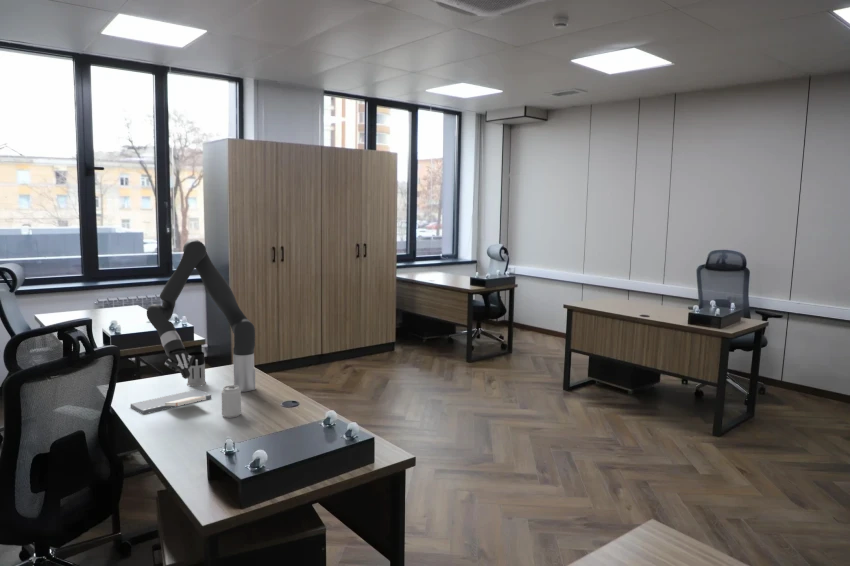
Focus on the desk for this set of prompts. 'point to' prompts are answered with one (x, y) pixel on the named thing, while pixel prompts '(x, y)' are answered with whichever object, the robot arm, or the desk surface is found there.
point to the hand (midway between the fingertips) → (187, 377)
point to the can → (231, 401)
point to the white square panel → (184, 401)
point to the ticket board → (160, 402)
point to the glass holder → (197, 370)
